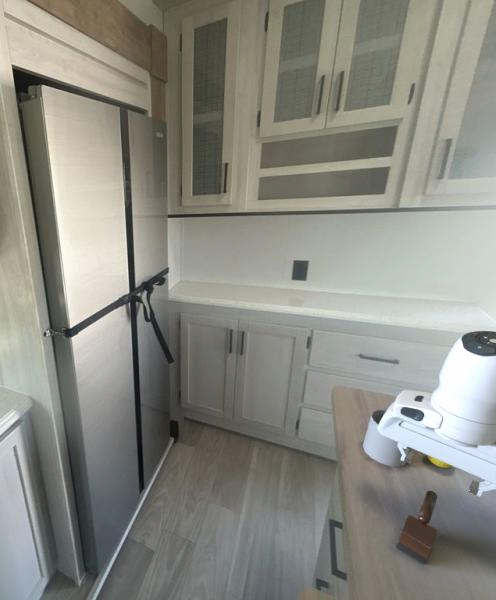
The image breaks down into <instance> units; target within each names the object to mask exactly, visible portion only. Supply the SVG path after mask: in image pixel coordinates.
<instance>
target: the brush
mask: <svg viewBox="0 0 496 600" xmlns="http://www.w3.org/2000/svg"><path fill="white" fill-rule="evenodd" d="M437 500H438V494H437V492H435V491H433V490H427V491H426V493H425V496H424V498H423V500H422V504H421V505H420V506H421V507H420V509H419V512H418V515H417V517H415V516H413V515H411V514H407V516H406V517H407V518H406V519H405V523H404V524H403V528H402V530H401V533H400V535H399V538H398V540H397V544H396V546H395V547H396V548H397V549H399V550H401V551H402V552H404V553H405V554H407V555H408V556H410V557H411V558H413V559H415V560H416V561H418V562H420V563H421V564H423V565H425V564H426V563H427V559H428V558H429V555H430V553H431V551H432V548H433V546H434V542H435V538H436V535H437V532H438V530H437V529H436V528H435V527H433V526H431V525H429V524H430V522H431V518H432V516H433V512H434V510H435V506H436V503H437Z"/></svg>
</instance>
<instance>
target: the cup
mask: <svg viewBox="0 0 496 600" xmlns="http://www.w3.org/2000/svg"><path fill="white" fill-rule="evenodd" d="M386 411H387V409H377V410H374V411H372V413H371V414H370V418H369V421H368V424H367V429H366V433H365V437H364V440H363V443H362V448H363V450H364V452H365V453H366V454H367V456H369V458H371V459H373V460H374V461H376V462H377V463H379V464H381V465H384V466H388V467H391V468H392V467H393V468H401V467H403V466H405V465H407V463H405V462H403V461H401V457H402V454H401V452H400V450H399V448H398V446H397V445H398V442H396V441H394V440H392V439H389V438H387V437H385V436H382V435H381V434H380V433H379V431H378V429H377V428H378V425H379V423H380V421H381V419H382V417H383V415H384V414H385V412H386ZM407 448H408V450H409V452H411V449H412V448H410V447H407Z"/></svg>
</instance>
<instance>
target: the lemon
mask: <svg viewBox="0 0 496 600" xmlns="http://www.w3.org/2000/svg"><path fill="white" fill-rule="evenodd" d="M426 457H427V459H428V461H430V463H432V464H433V465H435V466H436V467H440V468H443V469H452V468H455V467H454V466H452V465H449V464H447V463H445V462H442V461H440V460H438V459H436V458H433V457H431V456H429V455H426Z"/></svg>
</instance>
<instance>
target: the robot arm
mask: <svg viewBox="0 0 496 600" xmlns="http://www.w3.org/2000/svg"><path fill="white" fill-rule="evenodd" d="M438 381H439V384H438V386H437V388H435V389H434V390H433V392H429V391H420V390H412V389H403V390H402V391H401V392H400V393H399V394H398V395H397V396H396V398H395V400H394V401H393V402H392V403H390V405H389V406H388V408H387V409H386V410H387V411H386V412H385V414H384V415H383V417H382V419H381V421H380V423H379V425H378V428H377V429H378V431H379V433H380V434H381V435H382V436H385V437H387V438H389V439H392V440H394V441H396V442H398V445H397V446H398V448H399V450H400V452H401V454H402V457H401V461H403V462H405V463H406V464H408V465H411V463H412V461H413V459H414V455H415V453H413V452H411V451H410V452H409V450H408V448H407V447H410V448H411V449H413V450H414V451H417V452H419V453H422V454H423V455H426V456H427V455H429V456H431V457H433V458H436V459H438V460H440V461H442V462H445V463H447V464H449V465H452V466H454V467H453V468H457V469H459V470H461V471H463V472H466V473H468V474H470V475H473V476H475V477H477V478H479V479H482V480H483V481H480V482H479V481H477V480H474V479H472V481H471V484H470V485H469V488H468V493H470V494H473V495H475V496H476V497H479V498H481V497H482V495H483V494H484V493H485V492H489V491H494V490H496V331H492V330H477V331H475V330H474V331H470V332H467V333H464V334H462V335H461V336H460V337H459V338H458V339H457V340H456V341H455V342H454V344H453V346H452V347H451V348H450V350H449V352H448V353H447V356H446V358H445V360H444V361H443V364H442V367H441V368H440V371H439V374H438Z"/></svg>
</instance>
